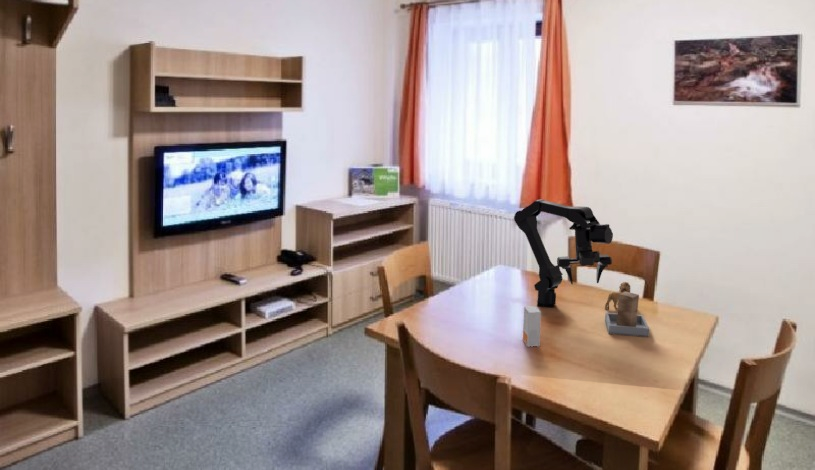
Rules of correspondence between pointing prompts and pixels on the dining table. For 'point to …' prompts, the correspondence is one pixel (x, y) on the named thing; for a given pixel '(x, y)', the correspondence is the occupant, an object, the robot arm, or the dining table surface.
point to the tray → (613, 328)
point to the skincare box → (531, 326)
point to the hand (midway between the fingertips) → (584, 283)
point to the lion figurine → (617, 295)
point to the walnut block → (627, 309)
